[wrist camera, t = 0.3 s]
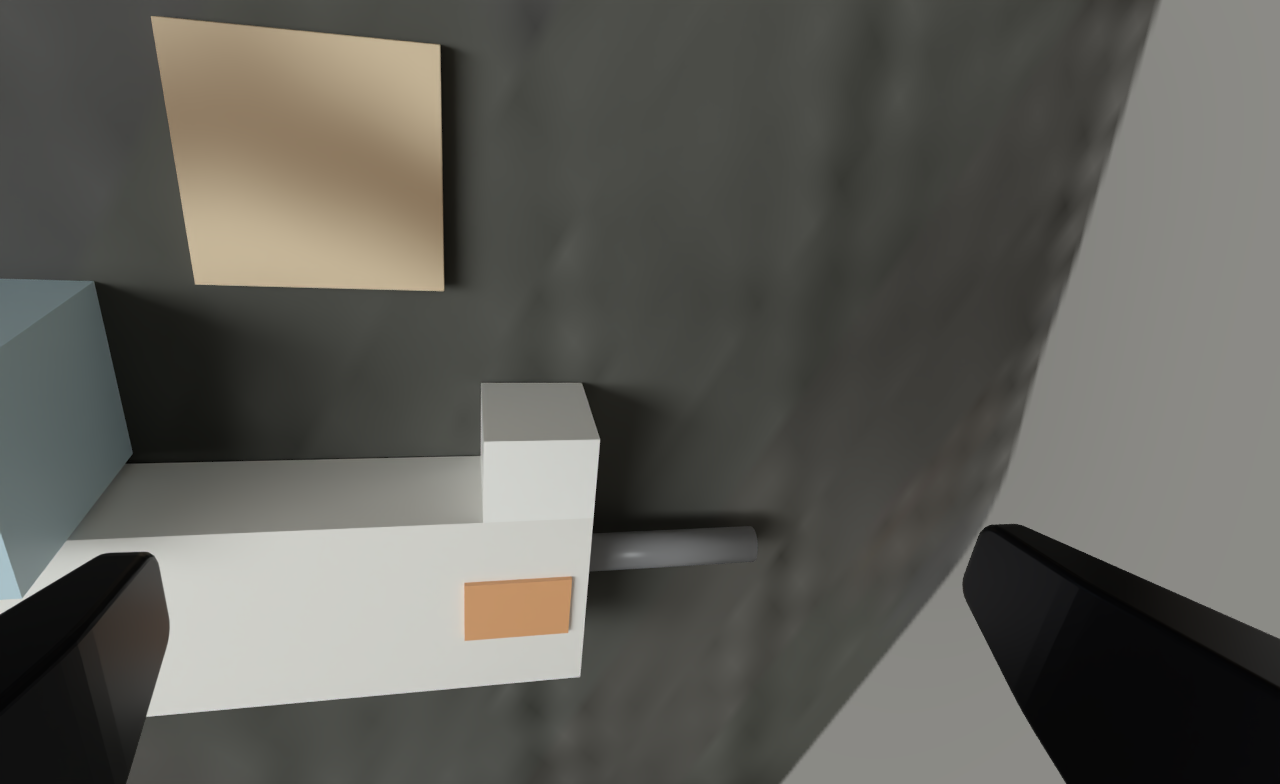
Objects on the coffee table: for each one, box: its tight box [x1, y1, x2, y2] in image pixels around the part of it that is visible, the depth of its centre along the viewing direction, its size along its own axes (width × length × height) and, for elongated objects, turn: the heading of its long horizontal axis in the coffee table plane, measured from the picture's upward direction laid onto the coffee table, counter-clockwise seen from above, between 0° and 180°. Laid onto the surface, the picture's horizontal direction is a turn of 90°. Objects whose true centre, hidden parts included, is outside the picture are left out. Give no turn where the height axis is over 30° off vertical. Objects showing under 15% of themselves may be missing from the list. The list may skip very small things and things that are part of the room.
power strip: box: [0, 383, 758, 717], centre depth 21 cm, size 8×25×4 cm, turn 85°
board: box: [151, 16, 444, 291], centre depth 18 cm, size 6×6×1 cm
